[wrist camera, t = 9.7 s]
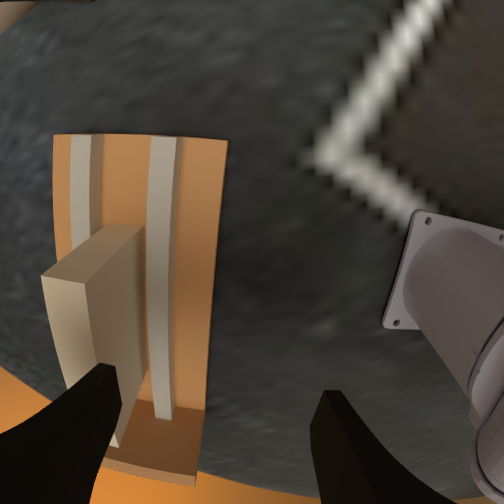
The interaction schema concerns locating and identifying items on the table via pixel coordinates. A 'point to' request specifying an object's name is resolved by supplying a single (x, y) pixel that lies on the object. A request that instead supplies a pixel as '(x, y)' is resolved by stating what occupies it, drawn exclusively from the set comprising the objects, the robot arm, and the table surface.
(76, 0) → the phone
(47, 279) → the door panel
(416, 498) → the robot arm
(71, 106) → the table surface
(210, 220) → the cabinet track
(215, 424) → the table surface
